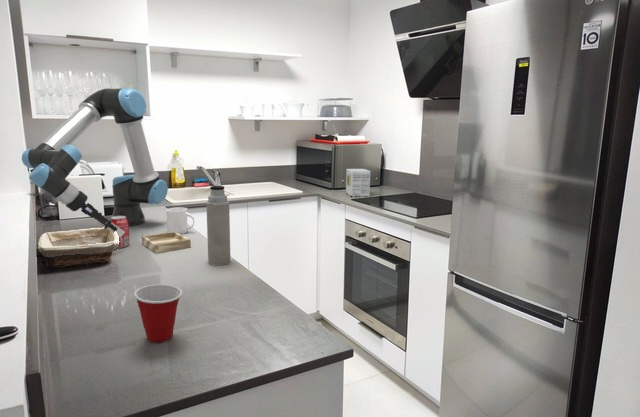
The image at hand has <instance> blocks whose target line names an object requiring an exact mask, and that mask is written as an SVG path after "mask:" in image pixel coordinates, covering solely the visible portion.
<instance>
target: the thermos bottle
mask: <svg viewBox="0 0 640 417" xmlns="http://www.w3.org/2000/svg"><path fill="white" fill-rule="evenodd" d="M209 189H210V194H209V195H208V196H207V201H206V204H205V205H206V206H205V207H206V229H207V230H206V233H207V234H206V236H207V263H208V264H209V265H212V264H213V266H222V265H227V264H229V263H230V262H231V227H230V226H231V224H230V223H231V222H230V221H231V220H230V201H228V195H227V194H226V193H225V186H223V185H213V186H210V188H209Z"/></svg>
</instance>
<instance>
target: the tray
mask: <svg viewBox="0 0 640 417" xmlns="http://www.w3.org/2000/svg"><path fill="white" fill-rule="evenodd" d="M141 244H142V245H143V246H145V247H146V248H147V249H149V250H150V251H152V252H153V253H155V254H160V253H161V254H163V253H165V252H166V253H167V252H171V251H172V252H173V251H178V250H184V249H188V248H189V249H190V248H191V247H192V246H191V245H192V244H191V239H189V238H188V237H186V236H184V235H183V234H179V233H177V232H168V231H167V232H163V233H157V234H156V233H155V234H149V235H141Z"/></svg>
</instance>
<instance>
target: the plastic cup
mask: <svg viewBox="0 0 640 417" xmlns="http://www.w3.org/2000/svg"><path fill="white" fill-rule="evenodd" d="M133 295H134V299H136V303H137V305H138V306H137V307H138V309H139V313H140V318H141V321H142V325H143V328H144V331H145V336H146V338H147V340H148V342H149V341H151V342H150V343H152V342H162V343H164V342H163V341H165V342H167V341H166V340H168V339H170V338H171V337H172V338H173V335H174V329H175V328H174V326H175V322H176V315H177V310H178V309H177V308H178V304H179V301H180V298H181V296H182V295H183V290H182V289H181V288H180V287H177V286H175V285H171V284H165V283H163V284H162V283H161V284H160V283H159V284H158V283H157V284H156V283H155V284H149V285H145V286H142V287H139V288H138V289H136V290H135V291H134V293H133ZM172 338H171V339H172ZM171 339H170V340H171ZM168 341H169V340H168Z"/></svg>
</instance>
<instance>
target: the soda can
mask: <svg viewBox="0 0 640 417" xmlns="http://www.w3.org/2000/svg"><path fill="white" fill-rule="evenodd" d="M109 221H111V222H112V223H114V224H115V225H116V226H118V227H119V228H120V229H122V230H123V231H124V232H125V233H124V234H123V235H122V236H121V237H119V241H120V242H119V245H118V248H117V249H121V248H125V247H127V246H129V245H130V228H129V226H128V220H127V219H126V216H113V217H112V216H110V220H109Z"/></svg>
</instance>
